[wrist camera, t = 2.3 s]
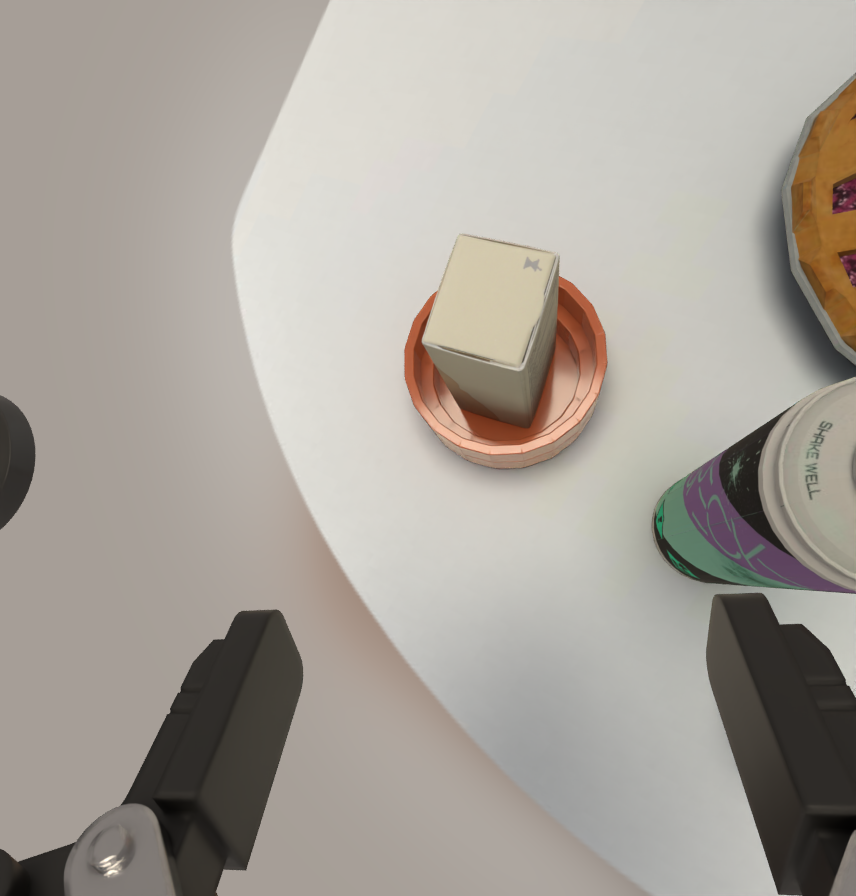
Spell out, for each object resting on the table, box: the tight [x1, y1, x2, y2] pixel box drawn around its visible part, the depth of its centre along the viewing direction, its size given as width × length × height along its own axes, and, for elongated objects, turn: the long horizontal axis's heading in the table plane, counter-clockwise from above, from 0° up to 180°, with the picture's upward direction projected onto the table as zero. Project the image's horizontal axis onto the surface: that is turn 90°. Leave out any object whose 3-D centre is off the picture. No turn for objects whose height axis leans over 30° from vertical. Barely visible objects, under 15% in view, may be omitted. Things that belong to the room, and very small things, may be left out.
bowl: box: [404, 276, 607, 469], centre depth 33 cm, size 10×10×4 cm
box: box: [422, 234, 560, 428], centre depth 29 cm, size 5×4×11 cm
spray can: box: [652, 377, 856, 594], centre depth 22 cm, size 6×6×20 cm
